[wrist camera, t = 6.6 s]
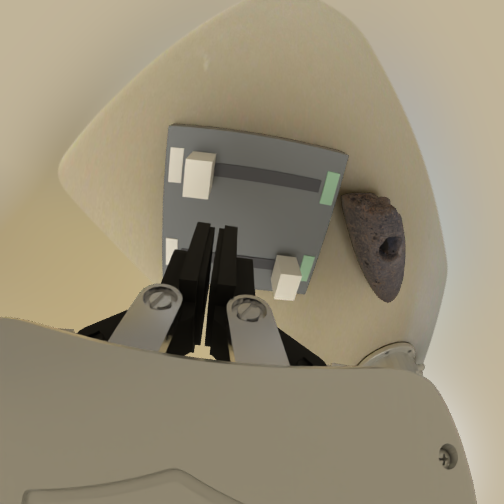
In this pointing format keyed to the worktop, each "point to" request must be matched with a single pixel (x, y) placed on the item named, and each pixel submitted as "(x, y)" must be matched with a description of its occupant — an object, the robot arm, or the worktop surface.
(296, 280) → the block
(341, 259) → the worktop surface
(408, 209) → the worktop surface
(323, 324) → the worktop surface
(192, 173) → the block
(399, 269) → the perforated stone tool
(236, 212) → the slider switch panel
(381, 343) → the worktop surface
